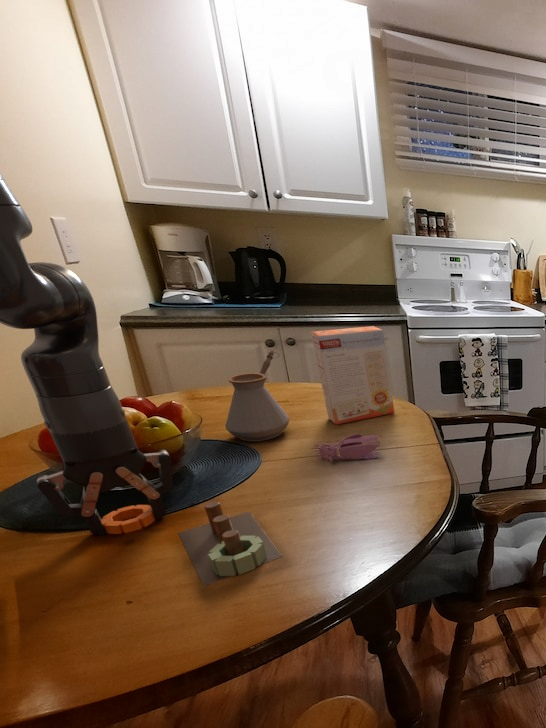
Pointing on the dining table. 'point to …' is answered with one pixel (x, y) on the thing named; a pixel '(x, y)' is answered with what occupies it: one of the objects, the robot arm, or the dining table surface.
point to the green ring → (238, 557)
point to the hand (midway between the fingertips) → (131, 525)
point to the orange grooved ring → (117, 526)
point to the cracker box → (353, 373)
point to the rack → (218, 531)
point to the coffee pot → (255, 407)
